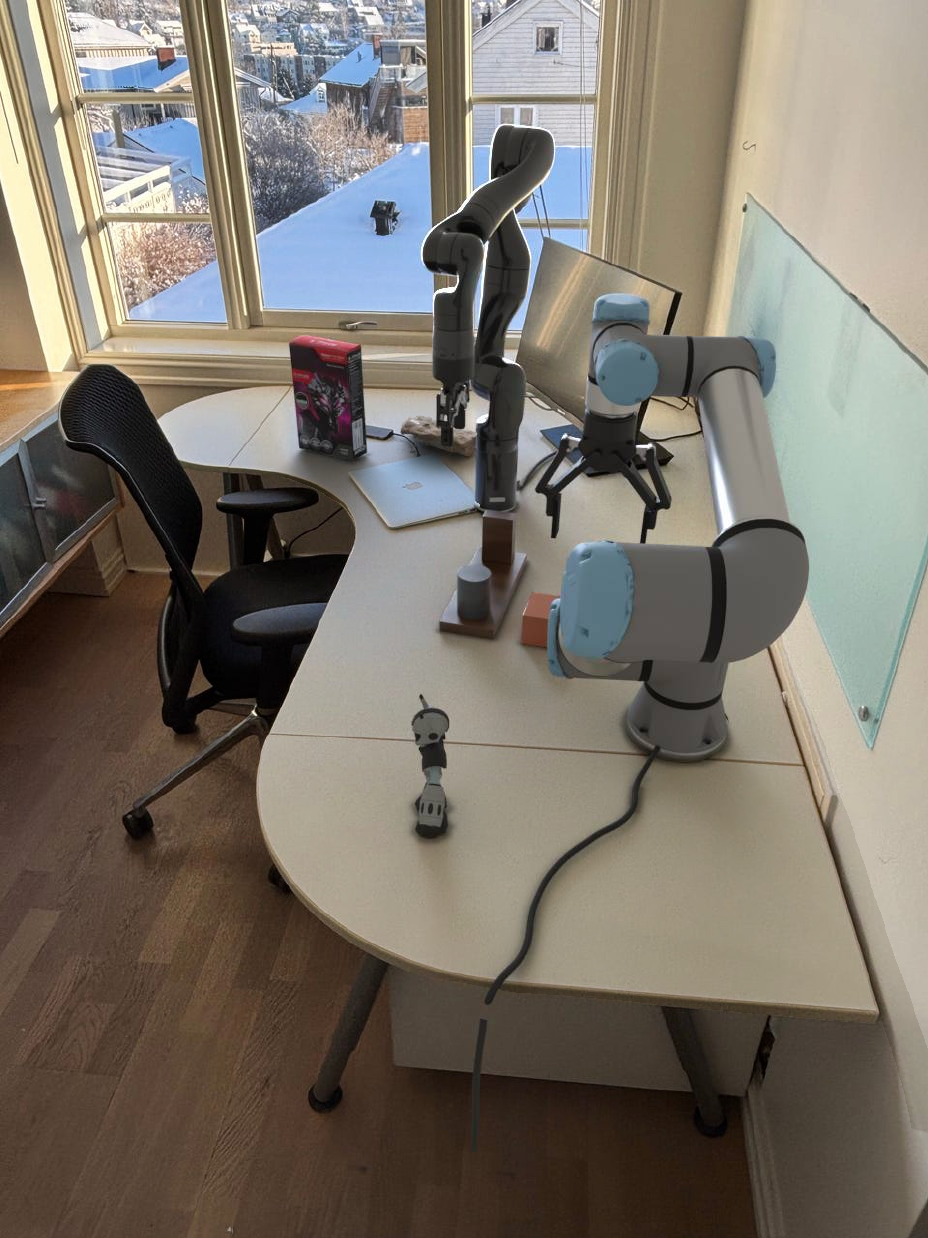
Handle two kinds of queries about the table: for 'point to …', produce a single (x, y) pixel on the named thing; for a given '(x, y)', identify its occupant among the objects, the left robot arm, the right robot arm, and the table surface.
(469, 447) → the stone
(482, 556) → the walnut stand
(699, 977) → the table surface
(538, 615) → the terracotta cap
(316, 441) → the graphics card box
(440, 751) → the robot
